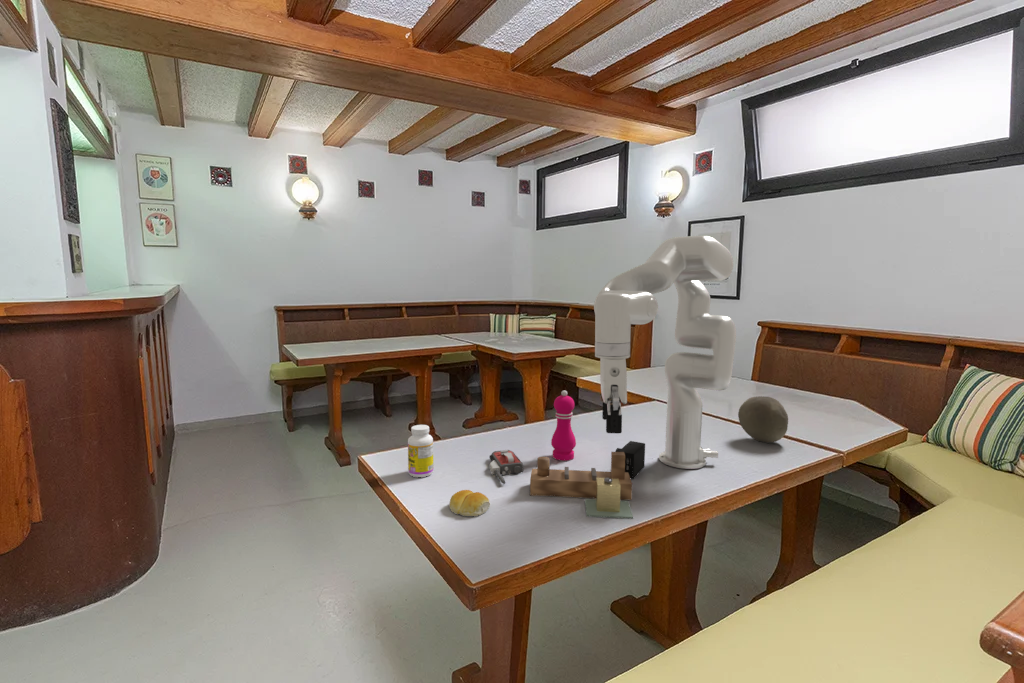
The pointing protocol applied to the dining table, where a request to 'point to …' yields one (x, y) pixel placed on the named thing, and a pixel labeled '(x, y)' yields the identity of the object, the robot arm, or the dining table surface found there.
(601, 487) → the lever cap
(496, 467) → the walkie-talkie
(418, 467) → the supplement bottle
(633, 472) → the digital camera
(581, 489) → the plane body
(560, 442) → the pepper mill
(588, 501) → the felt pad
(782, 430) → the cantaloupe
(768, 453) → the dining table surface
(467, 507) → the bread roll
